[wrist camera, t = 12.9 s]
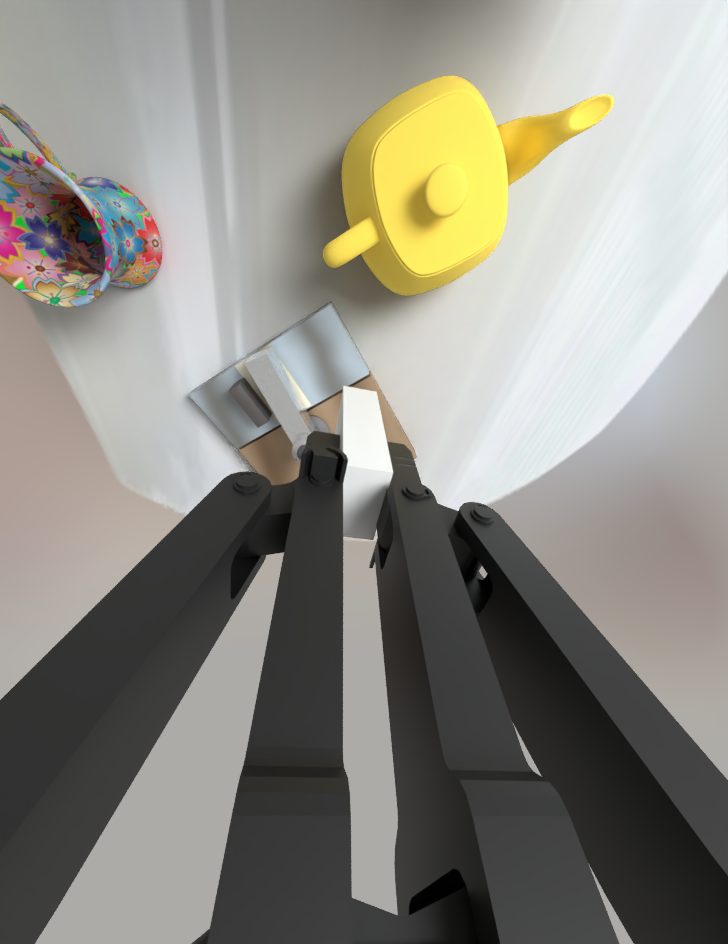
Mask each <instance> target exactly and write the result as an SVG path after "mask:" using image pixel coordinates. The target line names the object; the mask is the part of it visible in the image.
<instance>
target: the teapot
mask: <svg viewBox="0 0 728 944" xmlns="http://www.w3.org/2000/svg"><path fill="white" fill-rule="evenodd" d="M613 104H614V99H613V97H612V96H611V95H598V96H595V97H591V98H589V99H587V100H584V101H582V102H580V103H578V104H576V105H574V106H572V107H570V108H568V109H565V110H563V111H560V112H557V113H553V114H547V115H537V116H528V117H523V118H519V119H515V120H513V121H510V122H507V123H505V124H501V125H498V126H496V124H495V121H494V119H493V116H492V114H491V112H490V110H489V108H488V106H487V104H486V102H485V100H484V99H483V97H482V95H481V94H480V92H479V91H478V90H477V89H476V88H475V87H474V86H473V85H472V83H470V82H469V81H467V80H466V79H464V78H461V77H458V76H441V77H438V78H435V79H433V80H430V81H427V82H424V83H422V84H420V85H418V86H416V87H413V88H411V89H409V90H407V91H405V92H404V93H402V94H400V95H398V96H397V97H395V98H393V99H392V100H391V101H389V102H388V103H386V104H385V105H384V106H382V107H381V108H380V109H379V110H378V111H376V112H375V113H374V114H373V115H372V116H371V117H370V118H369V119H367V120H366V121H365V122H364V123H363V124H362V125H361V126H360V127H359V128H358V129H357V130H356V132H355V133H354V135H353V136H352V138H351V139H350V141H349V143H348V145H347V148H346V150H345V154H344V158H343V164H342V190H343V198H344V205H345V210H346V216H347V219H348V223H349V227H350V229H349V230H348V231H346V232H344V233H343V234H341V235H340V236H338V237H337V238H335V239H334V240H332V241H331V242H329V243H328V244H327V245H326V246H325V247H324V250H323V258H324V261H325V262H326V264H327V265H328V266H329V267H332V268H337V267H340V266H342V265H343V264H345V263H347V262H348V261H350V260H352V259H353V258H355V257H357V256H358V255H360V254H361V256H362V257H363V259H364V261H365V262H366V264H367V265H368V267H369V268H370V270H371V271H372V272H373V274H374V275H375V276H376V277H377V279H378V280H379V281H380V282H381V283H382V284H383V285H384V286H385V287H387V288H388V289H389V290H391V291H392V292H395V293H397V294H400V295H406V296H407V295H417V294H421V293H424V292H427V291H430V290H433V289H436V288H438V287H441V286H443V285H445V284H448V283H450V282H452V281H454V280H455V279H457V278H459V277H461V276H463V275H464V274H466V273H467V272H469V271H470V270H472V269H473V268H474V267H476V266H477V265H479V264H480V263H481V262H483V261H484V260H485V259H486V258H487V257H488V256H489V255H490V254H491V253H492V252H493V251H494V250H495V248H496V246H497V245H498V243H499V241H500V239H501V237H502V234H503V231H504V227H505V223H506V217H507V207H508V186H509V185H510V184H512V183H513V182H515V181H516V180H518V179H520V178H521V177H523V176H524V175H525V174H527V173H528V172H530V171H531V170H532V169H533V168H534V167H536V166H537V165H538V164H539V163H540V162H541V161H542V160H543V159H544V158H545V157H546V156H547V155H548V154H549V153H551V152H552V151H553V150H554V149H555V148H557V147H558V146H559V145H561V144H562V143H563V142H565V141H567V140H568V139H570V138H572V137H574V136H576V135H578V134H579V133H581V132H583V131H585V130H587V129H589V128H590V127H592V126H594V125H595V124H596V123H598V122H599V121H601V120H602V119H603V118H604V117H605V116H606V115H607V114H608V113H609V112H610V110H611V109H612V107H613Z"/></svg>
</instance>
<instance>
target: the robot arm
mask: <svg viewBox="0 0 728 944" xmlns="http://www.w3.org/2000/svg"><path fill="white" fill-rule="evenodd" d="M376 529H377V534H378V539H377V542H376V546H375V549H374V552H373V555H372V559H371V562H370V568H373V565H374V563H375V564H376V575H377V586H378V596H379V608H380V619H381V630H382V641H383V653H384V663H385V674H386V686H387V697H388V706H389V707H388V708H389V719H390V730H391V741H392V752H393V763H394V774H395V786H396V796H397V807H398V830H397V838H396V845H395V883H396V895H397V908H398V915H394V914H392V913H389V912H387V911H384V910H382V909H379V908H377V907H374V906H371V905H369V904H366V903H364V902H361V901H358V900H356V899H353V898H352V896H351V816H350V815H351V813H350V792H349V785H348V777H347V775H346V772H345V769H344V764H343V536H345V537H353V538H361V539H370V540H373V539H374V536H375V532H376ZM282 552H284V556H283V562H282V567H281V572H280V578H279V583H278V588H277V593H276V599H275V604H274V610H273V615H272V620H271V625H270V630H269V636H268V641H267V646H266V652H265V657H264V663H263V667H262V673H261V679H260V683H259V688H258V694H257V699H256V704H255V710H254V715H253V720H252V726H251V731H250V736H249V742H248V747H247V752H246V757H245V761H244V766H243V769H242V772H241V776H240V780H239V784H238V788H237V793H236V798H235V803H234V808H233V813H232V818H231V823H230V828H229V834H228V839H227V844H226V849H225V854H224V859H223V864H222V870H221V875H220V880H219V885H218V890H217V895H216V900H215V905H214V911H213V916H212V921H211V926H210V929H209V930H208V931H206V932H205V933H204V934H203V935H202V936H201V937H199V938H198V939H197V940H195V941H194V942H193V943H192V944H619V942H618V939H617V937H616V934H615V931H614V929H613V926H612V924H611V921H610V919H609V916H608V913H607V911H606V908H605V906H604V903H603V901H602V898H601V895H600V893H599V890H598V888H597V885H596V883H595V880H594V877H593V875H592V873H591V869H592V870H593V872H594V874H595V876H596V878H597V880H598V882H599V884H600V885H601V887H602V889H603V891H604V893H605V895H606V896H607V898H608V900H609V902H610V903H611V905H612V907H613V908H614V910H615V912H616V914H617V915H618V917H619V919H620V921H621V922H622V924H623V926H624V927H625V929H626V931H627V933H628V935H629V936H630V938H631V939H632V941H633V943H634V944H728V780H727V779H726V778H725V777H724V775H723V774H722V773H721V772H720V771H719V770H718V769H717V767H716V766H715V765H714V764H713V763H712V762H711V760H710V759H709V758H708V757H707V756H706V755H705V753H704V752H703V751H702V750H701V749H700V748H699V746H698V745H697V744H696V743H695V742H694V741H693V740H692V738H691V737H690V736H689V735H688V734H687V733H686V732H685V730H684V729H683V728H682V727H681V726H680V725H679V723H678V722H677V721H676V720H675V719H674V717H673V716H672V715H671V714H670V713H669V712H668V710H667V709H666V708H665V707H664V706H663V705H662V703H661V702H660V701H659V700H658V699H657V698H656V696H655V695H654V694H653V693H652V692H651V691H650V690H649V688H648V687H647V686H646V685H645V684H644V683H643V681H642V680H641V679H640V678H639V677H638V676H637V674H636V673H635V672H634V671H633V670H632V669H631V667H630V666H629V665H628V664H627V663H626V662H625V660H624V659H623V658H622V657H621V656H620V655H619V653H617V651H616V650H615V649H614V648H613V647H612V645H611V644H610V643H609V642H608V641H607V640H606V638H605V637H604V636H603V635H602V634H601V633H600V631H599V630H598V629H597V628H596V627H595V626H594V624H592V622H591V621H590V620H589V619H588V618H587V616H586V615H585V614H584V613H583V612H582V610H581V609H580V608H579V607H578V606H577V605H576V603H575V602H574V601H573V600H572V599H571V598H570V597H569V595H568V594H567V593H566V592H565V591H564V590H563V589H562V587H561V586H560V585H559V584H558V583H557V581H556V580H555V579H554V578H553V577H552V576H551V574H550V573H549V572H548V571H547V570H546V569H545V567H543V565H542V564H541V563H540V562H539V561H538V559H537V558H536V557H535V556H534V555H533V554H532V552H531V551H530V550H529V549H528V548H527V547H526V545H525V544H524V543H523V542H522V541H521V540H520V538H519V537H518V536H517V535H516V534H515V533H514V531H513V530H512V529H511V528H510V527H509V526H508V524H507V523H505V521H504V520H503V519H502V518H501V516H500V515H499V514H498V513H496V512H495V511H494V510H493V509H491V508H489V507H488V506H486V505H484V504H480V503H475V502H468V503H464V504H463V505H462V506H461V507H460V509H459V511H456V510H453V509H450V508H447V507H445V506H442V505H440V504H438V503H437V501H436V499H435V496H434V494H433V493H432V491H431V490H430V489H428V488H427V487H426V486H424V485H422V484H421V481H420V477H419V474H418V471H417V468H416V465H415V461H414V458H413V455H412V452H411V451H410V450H409V449H408V448H407V447H406V446H405V444H399V443H393V442H387V440H386V435H385V430H384V425H383V420H382V415H381V410H380V406H379V401H378V396H377V392H375V391H370V390H364V389H359V388H354V387H348V386H343V391H342V397H341V403H340V408H339V414H338V419H337V425H336V430H335V434H332V433H325V432H319V431H313V432H312V433H311V434H309V435H308V436H307V440H306V446H305V449H304V450H303V451H302V454H301V462H300V469H299V476H298V478H297V479H295V480H294V481H292V482H289V483H286V484H281V485H271V482H270V480H268V479H267V478H266V477H265V476H263V475H261V474H258V473H254V472H237V473H234V474H230V475H229V476H227V477H226V478H224V479H223V480H222V481H221V482H220V483H219V484H218V485H217V486H216V487H215V488H214V489H213V490H212V491H211V492H210V493H209V494H208V495H207V496H206V497H205V498H204V499H203V500H202V501H201V502H200V503H199V504H198V505H197V506H196V507H195V508H194V509H193V510H192V511H191V512H190V513H189V514H188V515H187V516H186V517H185V518H184V519H183V520H182V521H181V522H180V523H179V524H178V525H177V526H176V527H175V528H174V529H173V530H172V531H171V532H170V533H169V534H167V536H165V537H164V538H163V540H161V541H160V542H159V543H158V544H157V546H155V547H154V548H153V550H151V551H150V553H148V554H147V555H146V556H145V557H144V558H143V559H142V560H141V561H140V562H139V563H138V564H137V565H136V566H135V567H134V568H133V569H132V570H131V571H130V572H129V573H128V574H127V575H126V576H125V577H124V578H123V579H122V580H121V581H120V582H119V583H118V584H117V585H116V586H115V587H114V588H113V589H112V590H111V591H110V592H109V593H108V594H107V595H106V596H105V597H104V598H103V599H102V600H101V601H100V602H99V603H98V604H97V605H96V606H95V607H94V608H93V609H92V610H91V611H90V612H89V613H88V614H87V615H86V616H85V617H84V618H83V619H82V620H81V621H80V622H79V623H78V624H77V625H76V626H75V627H74V628H73V629H72V630H71V631H70V632H69V633H68V634H67V635H66V636H65V637H64V638H63V639H61V640H60V642H59V643H57V644H56V645H55V647H53V648H52V649H51V650H50V651H49V652H48V654H46V655H45V656H44V657H43V658H42V660H40V661H39V662H38V663H37V665H35V666H34V667H33V668H32V669H31V670H30V671H29V672H28V673H27V674H26V675H25V676H24V677H23V678H22V679H21V680H20V681H19V682H18V683H17V684H16V685H15V686H14V687H13V688H12V689H11V690H10V691H9V692H8V693H7V694H6V695H5V696H4V697H3V698H2V699H1V700H0V944H35V942H36V941H37V939H38V937H39V936H40V934H41V933H42V931H43V930H44V928H45V927H46V925H47V923H48V921H49V920H50V919H51V917H52V916H53V914H54V912H55V911H56V909H57V908H58V906H59V904H60V903H61V901H62V899H63V897H64V896H65V894H66V892H67V891H68V889H69V887H70V886H71V884H72V882H73V881H74V879H75V877H76V876H77V874H78V872H79V871H80V869H81V867H82V866H83V864H84V862H85V861H86V859H87V857H88V855H89V854H90V852H91V850H92V849H93V847H94V846H95V844H96V842H97V840H98V839H99V837H100V835H101V834H102V832H103V830H104V829H105V827H106V825H107V824H108V822H109V820H110V819H111V817H112V815H113V814H114V812H115V810H116V808H117V807H118V805H119V803H120V802H121V800H122V799H123V796H124V795H125V794H126V792H127V790H128V788H129V787H130V785H131V783H132V782H133V780H134V778H135V777H136V775H137V773H138V772H139V770H140V768H141V767H142V765H143V763H144V762H145V760H146V758H147V757H148V755H149V753H150V752H151V750H152V748H153V746H154V745H155V743H156V742H157V740H158V738H159V737H160V735H161V733H162V731H163V730H164V728H165V726H166V725H167V723H168V721H169V720H170V718H171V716H172V715H173V713H174V711H175V709H176V708H177V706H178V705H179V703H180V701H181V700H182V698H183V696H184V694H185V693H186V691H187V689H188V688H189V686H190V684H191V683H192V681H193V679H194V678H195V676H196V674H197V673H198V671H199V669H200V667H201V666H202V664H203V663H204V661H205V659H206V658H207V656H208V654H209V653H210V651H211V649H212V648H213V646H214V644H215V643H216V641H217V639H218V637H219V636H220V634H221V633H222V631H223V629H224V627H225V626H226V624H227V622H228V621H229V619H230V617H231V616H232V614H233V612H234V611H235V609H236V607H237V606H238V604H239V602H240V601H241V599H242V597H243V596H244V594H245V592H246V591H247V589H248V587H249V585H250V584H251V582H252V580H253V579H254V577H255V575H256V574H257V572H258V570H259V569H260V567H261V565H262V564H263V562H264V560H265V557H266V555H269V554H275V553H282ZM481 566H483V568H484V569H485V571H486V572H487V573H488V574H487V576H486V577H485V578H483V577H482V575H481V574H480V572H479V569H480V568H481ZM512 722H513V723H514V725H515V727H516V729H517V731H518V733H519V735H520V736H521V738H522V740H523V742H524V744H525V746H526V748H527V750H528V751H529V753H530V755H531V757H532V759H533V761H534V763H535V764H536V766H537V768H538V770H539V772H540V774H541V776H542V777H541V776H539V775H538V774H536V773H535V772H533V770H532V769H531V768H530V767H529V765H528V763H527V761H526V759H525V757H524V754H523V752H522V749H521V746H520V743H519V740H518V737H517V734H516V731H515V728H514V725H513V723H512ZM587 861H588V862H587ZM588 863H589V864H588ZM589 865H590V867H591V869H590V867H589Z"/></svg>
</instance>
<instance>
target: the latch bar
mask: <svg viewBox="0 0 728 944" xmlns="http://www.w3.org/2000/svg"><path fill="white" fill-rule="evenodd" d="M244 364H245V366H246V367H247V369H248V371H249V372H250V374H251V376H252V377H253V379H254V381H255V382H256V384H257V386H258V387H259V389H260V391H261V392H262V394H263V396H264V397H265V399H266V401H267V402H268V404H269V406H270V407H271V409H272V411H273V412H274V414H275V416H276V417H277V419H278V421H279V422H280V424H281V426H282V427H283V429H284V431H285V432H286V434H287V436H288V437H289V439H290V441H291V442H292V444H293V447H292V455H293V457H294V459H295V460H296V461H298V462H299V463H300V462H301V454H302V451H303V450H304V449H305V446H306V440H307V436H308V435H309V434H311V433H312V432H313V431H319V432H321V430H320V429H319V428H318V427H317V426H315V425H314V423H313V421H312V419H311V418H310V416H309V414H308V412H307V410H306V408H305V406H304V405H303V403H302V401H301V399H300V397H299V395H298V394H297V392H296V390H295V388H294V386H293V384H292V383H291V381H290V379H289V377H288V375H287V373H286V371H285V370H284V368H283V366H282V364H281V362H280V360H279V359H278V357H277V355H276V353H275V351H274V349H273V348H272V346H270V347H268V348H266V349H264V350H261V351H259V352H257V353H255V354H253V355H251V356H250V357H249V358H248V360H247V361H246V362H245V363H244Z"/></svg>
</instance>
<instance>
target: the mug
mask: <svg viewBox="0 0 728 944" xmlns="http://www.w3.org/2000/svg"><path fill="white" fill-rule="evenodd" d="M0 113H1V114H2V115H4V116H5V117H6V118H8V119H9V120H10V121H11V122H12V123H14V124H15V125H16V126H17V127H18V128H19V129H20V130H21V131H22V132H23V133H24V134H25V135H26V136H27V137H28V138H29V139H30V140H31V142H32V143H33V144H34V145H35V146H36V147H37V148H38V150H39V151H40V152H41V153H42V154H43V156H44V157H45V158H46V160H47V161H46V160H44V159H42V158H40V157H38V156H36V155H34V154H32V153H29V152H26V151H23V150H19V149H15V148H14V147H13V146H12V144H11V143H10V142H9V140H8V139H7V137H6V135H5V134H4V132H3V130H2V128H1V126H0V276H1V277H3V278H4V279H5V280H6V281H7V282H8V283H10V284H11V285H13V286H14V287H15V288H16V289H18V290H19V291H21V292H23V293H24V294H26V295H28V296H30V297H31V298H33V299H36V300H38V301H40V302H43V303H46V304H49V305H53V306H58V307H79V306H83V305H86V304H89V303H91V302H93V301H95V300H96V299H97V298H99V297H100V296H101V295H102V294H103V292H104V291H105V290H106V288H107V286H108V284H109V283H110V284H112V285H116V286H119V287H126V288H132V287H138V286H141V285H144V284H146V283H147V282H149V281H150V280H151V279H152V278H153V277H154V276H155V274H156V273H157V271H158V269H159V267H160V264H161V259H162V244H161V239H160V235H159V232H158V229H157V226H156V224H155V222H154V220H153V218H152V216H151V215H150V213H149V212H148V210H147V209H146V207H145V206H144V205H143V204H142V203H141V201H140V200H139V199H138V198H137V197H136V196H134V195H133V194H132V193H131V192H130V191H128V190H127V189H126V188H124V187H123V186H121V185H119V184H117V183H115V182H113V181H111V180H108V179H104V178H99V177H88V178H84V179H80V180H78V181H76V180H77V177H76V175H75V174H74V173H67V172H66V170H65V169H64V168H63V166H62V165H61V163H60V162H59V161H58V159H57V158H56V156H55V155H54V154H53V152H52V151H51V150H50V149H49V147H48V146H47V145H46V144H45V143H44V141H43V140H42V139H41V138H40V137H39V136H38V135H37V133H36V132H35V131H34V130H33V129H32V128H31V127H30V126H29V125H28V124H27V123H26V122H25V121H24V120H23V119H22V118H21V117H20V116H19V115H18V114H16V113H15V112H14V111H13V110H11V109H10V108H9V107H7V106H6V105H4V104H2V103H0Z"/></svg>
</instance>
